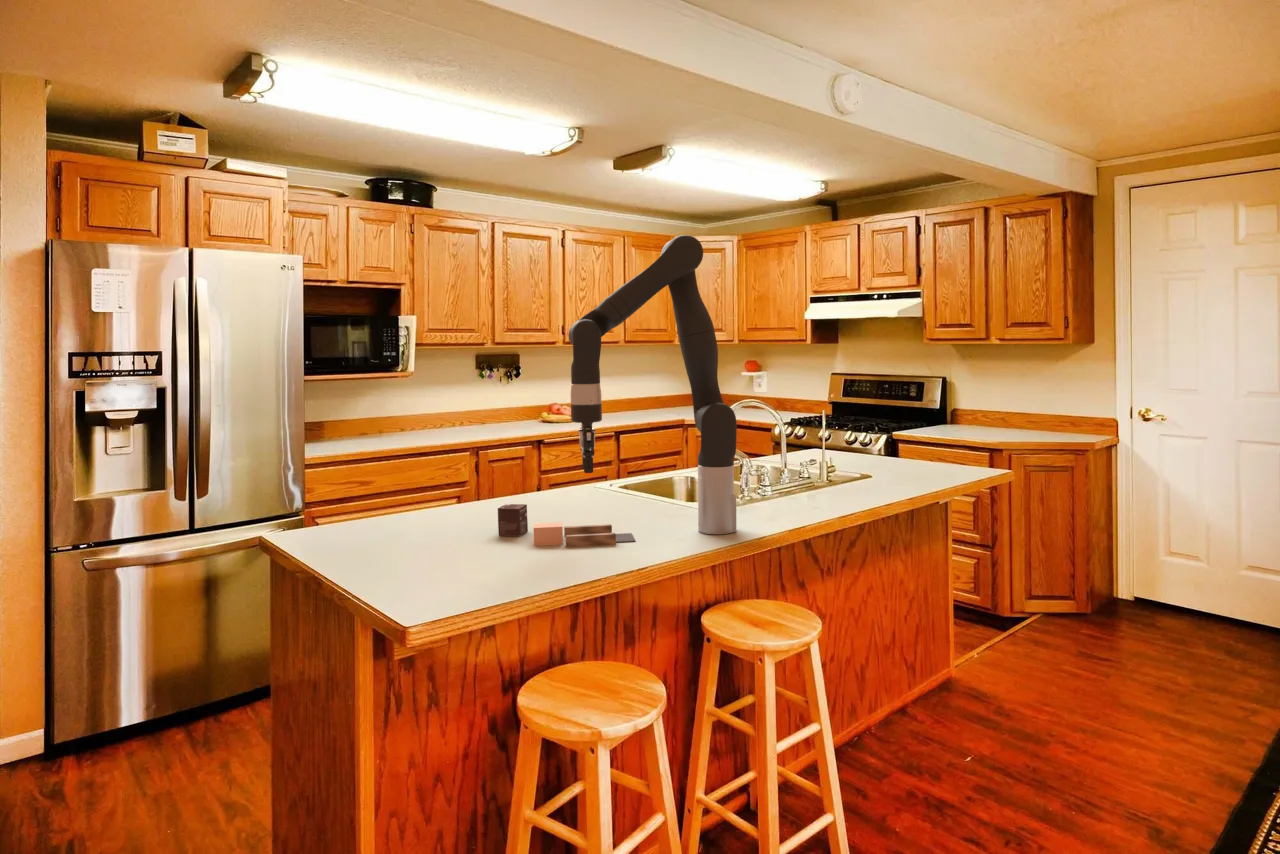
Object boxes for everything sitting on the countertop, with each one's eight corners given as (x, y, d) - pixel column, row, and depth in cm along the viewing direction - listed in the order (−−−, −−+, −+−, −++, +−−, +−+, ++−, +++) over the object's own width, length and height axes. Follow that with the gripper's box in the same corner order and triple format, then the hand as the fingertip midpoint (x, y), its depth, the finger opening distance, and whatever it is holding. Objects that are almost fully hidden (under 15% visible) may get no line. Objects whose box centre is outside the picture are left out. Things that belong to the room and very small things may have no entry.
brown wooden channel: (611, 533, 194) (611, 524, 194) (615, 544, 183) (615, 534, 183) (564, 536, 193) (564, 526, 192) (566, 546, 182) (565, 536, 182)
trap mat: (631, 534, 193) (631, 533, 193) (635, 541, 186) (635, 540, 186) (611, 535, 193) (611, 534, 193) (615, 542, 185) (615, 541, 185)
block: (562, 539, 190) (562, 522, 189) (563, 544, 185) (562, 526, 184) (534, 541, 189) (533, 523, 188) (534, 546, 184) (533, 527, 183)
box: (520, 537, 193) (519, 508, 192) (497, 536, 194) (496, 508, 193) (528, 531, 199) (527, 504, 198) (506, 531, 200) (505, 503, 199)
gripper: (604, 403, 178) (605, 475, 180) (599, 400, 192) (600, 466, 194) (572, 404, 177) (574, 476, 179) (569, 401, 191) (571, 467, 193)
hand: (587, 470), depth 186 cm, fingers open, 5 cm apart
